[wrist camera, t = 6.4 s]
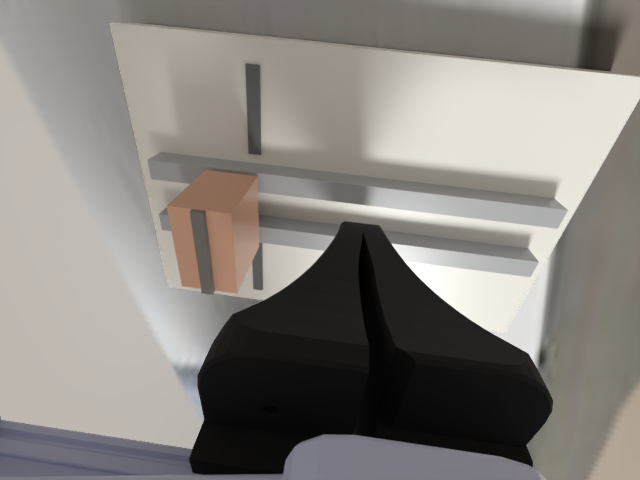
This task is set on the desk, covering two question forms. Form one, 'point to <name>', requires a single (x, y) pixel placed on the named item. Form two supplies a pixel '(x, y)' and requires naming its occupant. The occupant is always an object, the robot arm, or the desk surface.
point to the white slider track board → (374, 152)
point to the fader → (215, 230)
